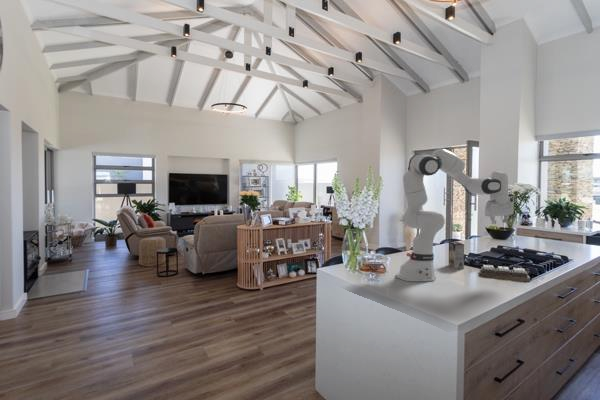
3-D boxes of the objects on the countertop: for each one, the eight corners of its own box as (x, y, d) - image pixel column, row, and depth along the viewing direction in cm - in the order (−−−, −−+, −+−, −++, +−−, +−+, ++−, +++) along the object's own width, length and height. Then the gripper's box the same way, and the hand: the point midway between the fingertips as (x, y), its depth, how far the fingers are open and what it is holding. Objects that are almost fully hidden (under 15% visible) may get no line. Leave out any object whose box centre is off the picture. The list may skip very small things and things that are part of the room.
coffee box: (448, 265, 206) (448, 241, 206) (457, 265, 206) (457, 241, 206) (454, 268, 197) (454, 244, 197) (464, 268, 197) (464, 244, 197)
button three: (493, 270, 178) (493, 267, 178) (483, 269, 181) (483, 266, 181) (493, 268, 182) (493, 265, 182) (483, 267, 185) (483, 264, 185)
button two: (525, 273, 170) (525, 270, 170) (514, 272, 173) (514, 269, 173) (524, 271, 175) (524, 268, 175) (513, 270, 177) (513, 267, 177)
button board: (530, 282, 167) (530, 274, 167) (479, 276, 180) (479, 269, 180) (527, 277, 176) (527, 270, 176) (479, 272, 188) (479, 265, 188)
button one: (508, 272, 174) (508, 268, 174) (498, 271, 177) (498, 267, 177) (508, 270, 179) (508, 266, 179) (498, 269, 181) (498, 265, 181)
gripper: (492, 200, 170) (492, 225, 170) (516, 198, 178) (516, 222, 178) (481, 200, 176) (481, 224, 176) (505, 198, 183) (505, 221, 184)
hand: (499, 223), depth 177 cm, fingers open, 8 cm apart
